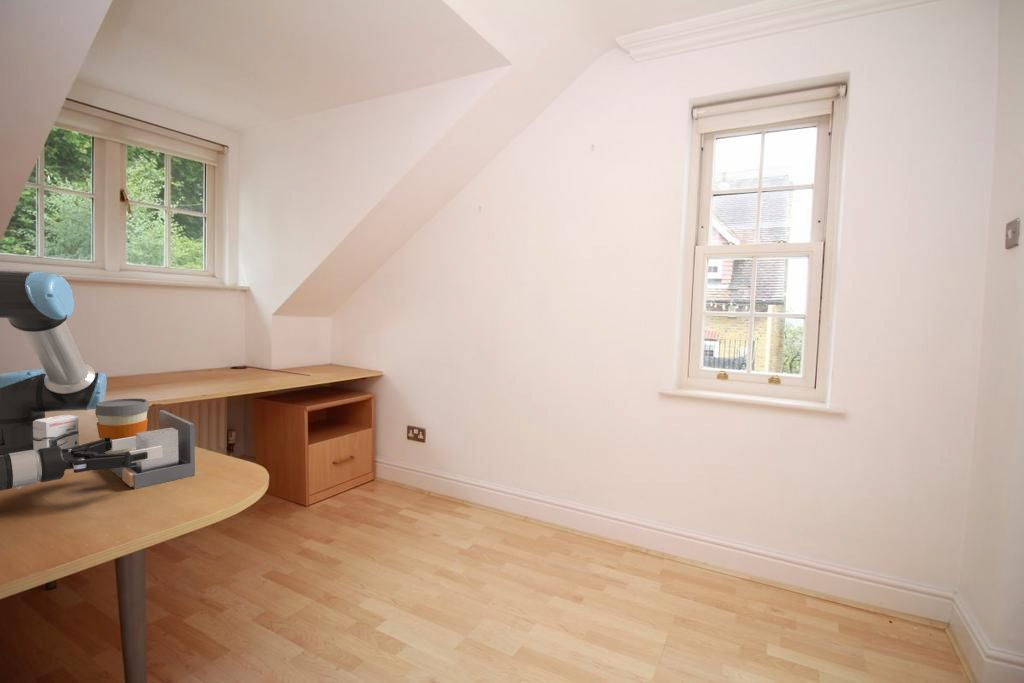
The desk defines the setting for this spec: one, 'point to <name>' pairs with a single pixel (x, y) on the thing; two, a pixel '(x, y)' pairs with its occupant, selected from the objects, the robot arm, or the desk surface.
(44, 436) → the ink box
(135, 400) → the reusable coffee cup
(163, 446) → the brushed metal block
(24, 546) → the desk surface
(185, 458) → the rack
